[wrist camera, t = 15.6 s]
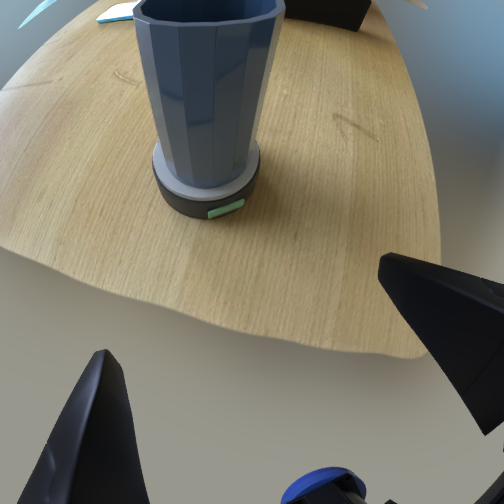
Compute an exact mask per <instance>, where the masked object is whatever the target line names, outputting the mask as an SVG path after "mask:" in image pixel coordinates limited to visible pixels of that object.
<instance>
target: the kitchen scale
mask: <svg viewBox="0 0 504 504" xmlns="http://www.w3.org/2000/svg"><path fill="white" fill-rule="evenodd" d="M152 166H153V172H154V175H155V178H156V181H157V183H158V186H159V189H160V191H161V193H162V196H163V197H164V199H165V201H166V202H167V203H168V204H169V205H170V206H171V207H172V208H173V209H175V210H176V211H178V212H179V213H182V214H184V215H186V216H189V217H193V218H200V219H210V218H217V217H221V216H224V215H227V214H229V213H231V212H233V211H235V210H236V209H238V208H239V207H242V206H243V205H244V203H245V201H246V200H247V199H248V198H249V196H250V195H251V193H252V191H253V188H254V185H255V182H256V178H257V174H258V171H259V167H260V151H259V147H258V144H257V141H256V139H255V144H254V148H253V153H252V157H251V158H250V162H249V164H248V166H247V168H246V170H245V171H244V172H243V173H242V174H241V175H240V176H239V177H238V178H237V179H235V180H234V181H232V182H230V183H228V184H226V185H223V186H220V187H216V188H196V187H192V186H188V185H186V184H184V183H182V182H180V181H179V180H177V179H176V178H175V177H174V176H173V175H172V174H171V173H170V172H169V170H168V168H167V166H166V163H165V159H164V156H163V153H162V149H161V145H160V141H159V140H158V141H157V144H156V146H155V150H154V154H153V160H152Z"/></svg>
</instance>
